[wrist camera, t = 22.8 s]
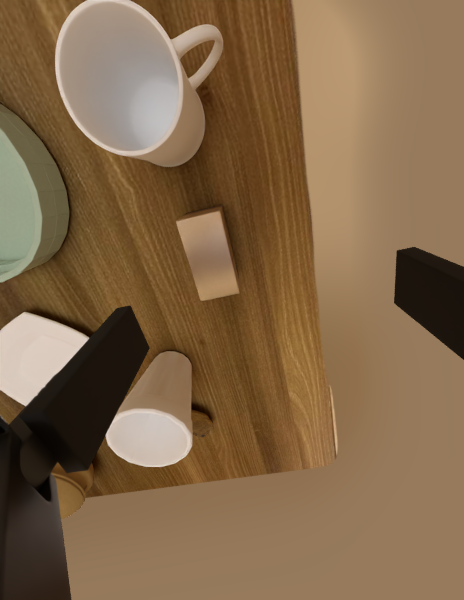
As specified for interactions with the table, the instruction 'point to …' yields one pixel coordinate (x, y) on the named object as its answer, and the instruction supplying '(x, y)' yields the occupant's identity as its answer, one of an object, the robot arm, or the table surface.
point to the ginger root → (200, 423)
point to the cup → (156, 415)
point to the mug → (133, 81)
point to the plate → (34, 354)
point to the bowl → (28, 199)
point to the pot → (72, 488)
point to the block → (209, 252)
